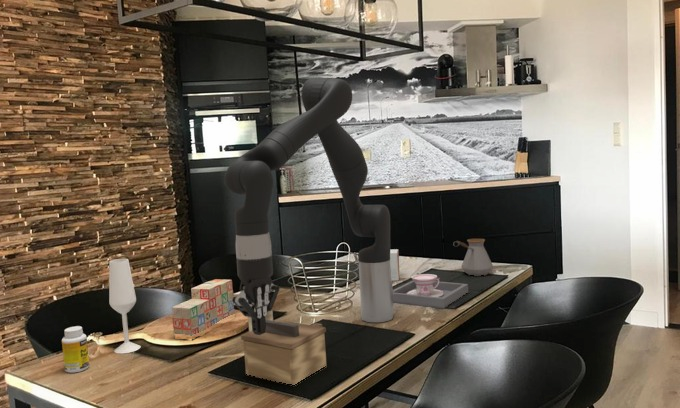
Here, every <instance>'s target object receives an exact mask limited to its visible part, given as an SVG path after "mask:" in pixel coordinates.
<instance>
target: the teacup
mask: <svg viewBox="0 0 680 408" xmlns="http://www.w3.org/2000/svg"><path fill="white" fill-rule="evenodd" d="M410 279H412V280H414V281H415V284H416V290H412V291H409V292H408V293H407V294H413V295H422V296H432V297H441V296H443V292H442V291H440V290H436V289H435V288H436V287H437V286H438V284H439V282H440V279H441V278H440V277H438V275H437V274H431V273H421V274H414V275H412V276H410ZM434 281H438V283H437V285H436V286H435V287H433V283H434Z"/></svg>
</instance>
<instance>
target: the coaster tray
mask: <svg viewBox="0 0 680 408" xmlns="http://www.w3.org/2000/svg"><path fill="white" fill-rule="evenodd" d="M437 283H438V280H435V281H434V283H433V287H435V286H436V285H437ZM435 289H436V290H440V291H442V292H443V296H441V297H432V296H422V295H413V294H407V293H408V292H409V291H412V290H416V284H415V281H414V280H413V279H412V280H411V281H409V282H406V283H404V284H402V285H400V286H399V287H397V288H394V289H393V304H401V305H402V304H403V305H409V306H418V307H427V308H435V309H436V308H437V309H446V308H447V307H449V306H450V305H449V304H451V303H452V302H454V301H455V302H457V301H458V300H460V299H461V298H463V297H464V296H463V295H465V294H466V293H468V294H469V284H468V283H459V282H449V281H448V282H447V281H439V284H438V286H437V287H436V288H435ZM466 295H467V294H466ZM466 295H465V296H466ZM462 296H463V297H462ZM460 297H461V298H460ZM459 298H460V299H459ZM457 299H458V300H457ZM456 300H457V301H456ZM455 302H454V303H455ZM452 304H453V303H452ZM452 304H451V305H452ZM448 305H449V306H448Z"/></svg>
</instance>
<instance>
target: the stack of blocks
mask: <svg viewBox="0 0 680 408" xmlns="http://www.w3.org/2000/svg"><path fill="white" fill-rule="evenodd" d="M190 291H191V299H188V300H187V301H186V300H185V301H183V302H181V303H179V304H176V305H174V306H172V307H171V309H172V310H171V311H172V328H173V334H174V333H175V334H185V335H190V336H192V335H194V334H196V333H199V332H201V331H204V330H206V329H207V328H209V327H211V326H212V325H214V324H215V323H217V322H219V321H220V320H222V319H224V318H226V317H228V316H230V315H233V314H235V306H234V305H235V304H234V303H233V301H232V299H233V297H234V290H233V280H232V279H219V278H218V279H217V278H215V279H212V280H209V281H206V282H203V283H201V284H199V285H197V286H194V287H191V289H190Z"/></svg>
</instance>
